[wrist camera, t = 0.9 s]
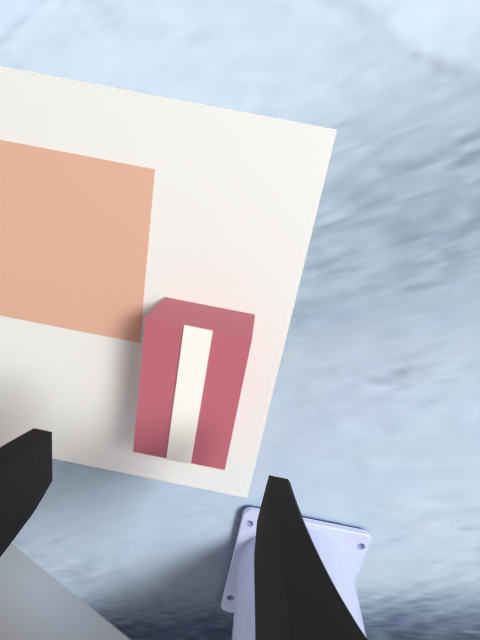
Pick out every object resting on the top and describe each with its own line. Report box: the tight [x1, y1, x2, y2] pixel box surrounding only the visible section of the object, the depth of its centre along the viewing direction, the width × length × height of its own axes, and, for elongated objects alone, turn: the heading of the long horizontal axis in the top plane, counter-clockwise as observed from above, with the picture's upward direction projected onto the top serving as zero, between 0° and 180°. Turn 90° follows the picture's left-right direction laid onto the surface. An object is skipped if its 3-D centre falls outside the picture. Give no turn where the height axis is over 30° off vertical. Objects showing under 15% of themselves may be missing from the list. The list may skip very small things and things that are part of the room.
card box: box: [133, 297, 255, 470], centre depth 18 cm, size 7×4×3 cm, turn 170°
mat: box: [0, 66, 337, 498], centre depth 19 cm, size 20×16×1 cm
